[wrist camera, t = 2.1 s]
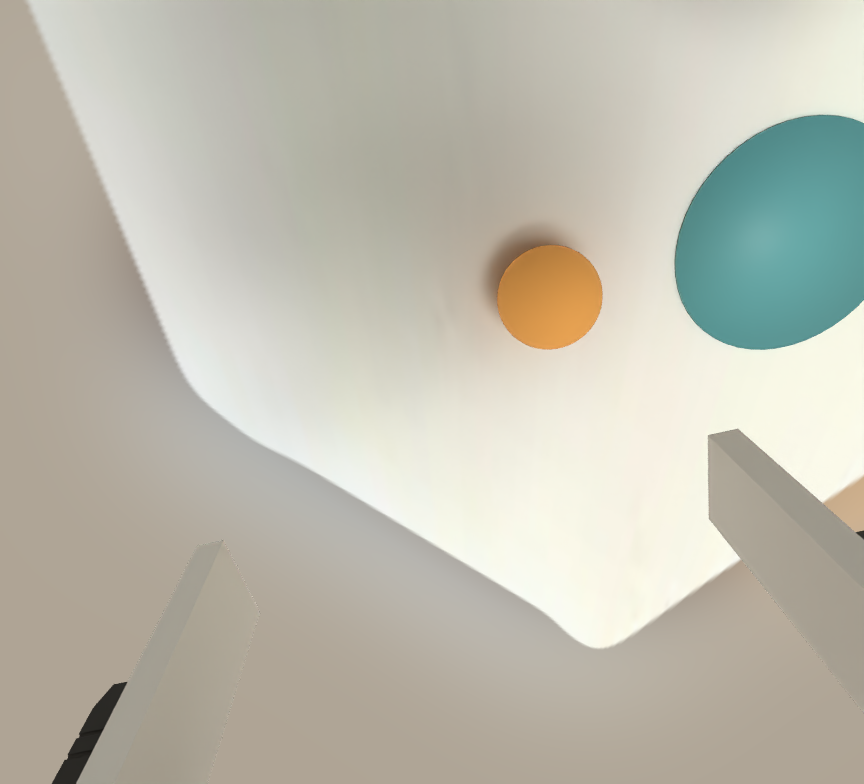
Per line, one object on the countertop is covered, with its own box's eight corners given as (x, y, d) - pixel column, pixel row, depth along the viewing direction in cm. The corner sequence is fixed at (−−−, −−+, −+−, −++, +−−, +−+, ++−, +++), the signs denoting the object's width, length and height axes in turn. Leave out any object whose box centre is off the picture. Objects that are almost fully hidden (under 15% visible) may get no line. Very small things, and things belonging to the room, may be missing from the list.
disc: (633, 226, 30) (635, 227, 30) (857, 56, 27) (860, 55, 27) (734, 387, 35) (736, 388, 35) (935, 257, 32) (938, 257, 32)
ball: (471, 279, 31) (483, 306, 26) (550, 215, 30) (579, 232, 25) (525, 347, 33) (547, 385, 28) (602, 290, 32) (638, 319, 27)
